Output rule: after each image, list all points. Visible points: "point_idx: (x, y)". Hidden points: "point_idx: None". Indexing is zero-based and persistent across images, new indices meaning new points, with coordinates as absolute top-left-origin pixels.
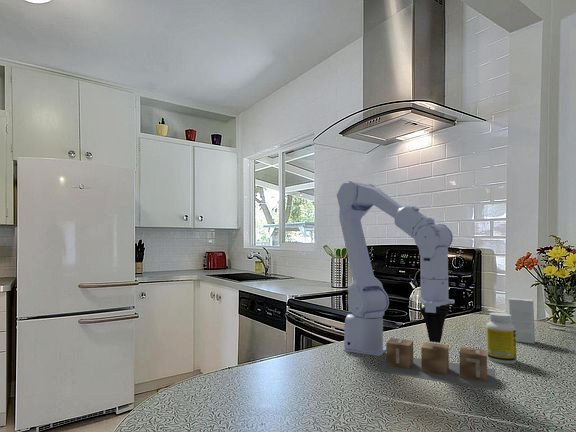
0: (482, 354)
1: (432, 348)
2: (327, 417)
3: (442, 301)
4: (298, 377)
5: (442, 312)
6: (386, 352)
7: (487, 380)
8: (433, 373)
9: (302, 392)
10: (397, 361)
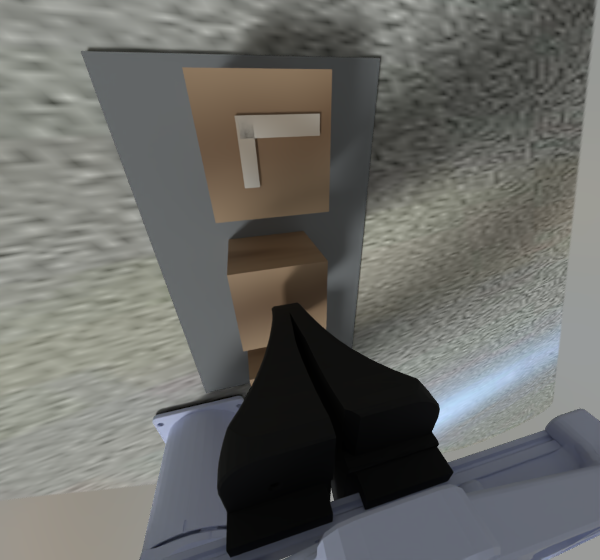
0: (309, 96)
1: (322, 306)
2: (539, 319)
3: (576, 534)
4: None
5: (437, 413)
6: None
7: None
8: None
9: (470, 374)
10: None
